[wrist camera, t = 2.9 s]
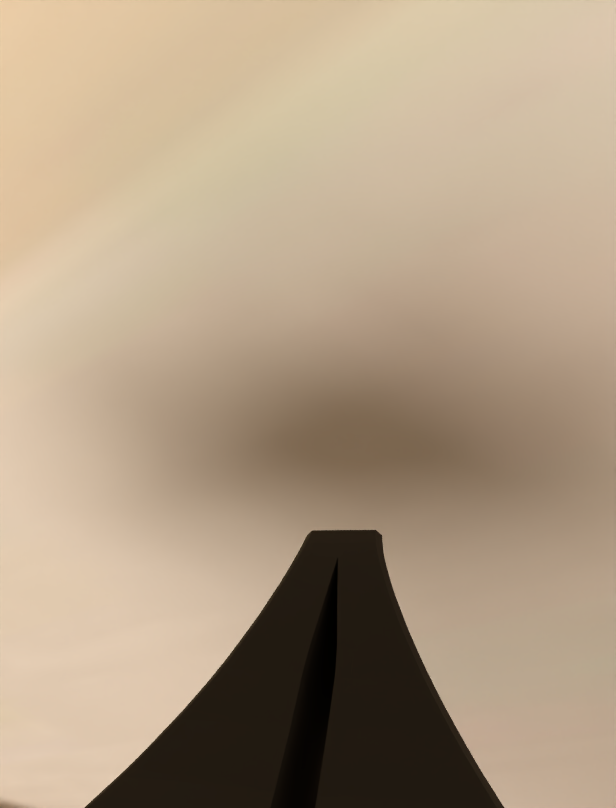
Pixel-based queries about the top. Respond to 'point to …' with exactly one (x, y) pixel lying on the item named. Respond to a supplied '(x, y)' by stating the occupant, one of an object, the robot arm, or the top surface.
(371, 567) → the robot arm
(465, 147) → the top surface
